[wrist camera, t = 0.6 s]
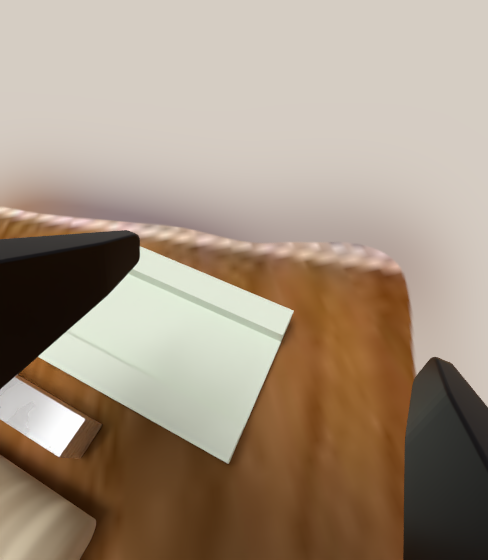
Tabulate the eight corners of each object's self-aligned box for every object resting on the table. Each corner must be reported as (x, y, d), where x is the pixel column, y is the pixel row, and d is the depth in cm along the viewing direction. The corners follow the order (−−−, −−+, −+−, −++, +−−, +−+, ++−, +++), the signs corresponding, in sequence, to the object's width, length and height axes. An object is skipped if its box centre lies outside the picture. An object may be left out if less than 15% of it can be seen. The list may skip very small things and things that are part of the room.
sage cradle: (228, 463, 18) (227, 463, 16) (46, 361, 21) (29, 351, 19) (289, 322, 23) (293, 310, 21) (134, 256, 26) (127, 241, 24)
